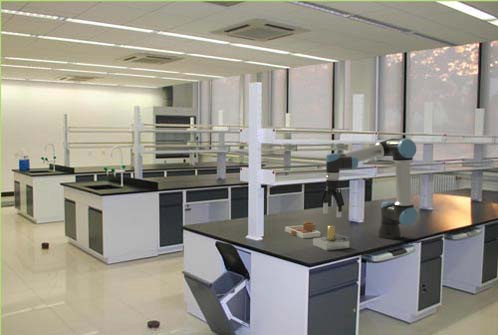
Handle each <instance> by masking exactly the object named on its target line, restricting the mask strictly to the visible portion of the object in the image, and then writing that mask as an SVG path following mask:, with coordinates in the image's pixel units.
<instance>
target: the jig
mask: <svg viewBox="0 0 498 335" xmlns="http://www.w3.org/2000/svg"><path fill="white" fill-rule="evenodd" d="M312 238H313V239H312V245H313V246H314V247H317V248H319V249H323V250H324V251H335V250H341V249H349V248H350V237H348V236H346V235H343V234H341V233H340V234H339V233H336V232H335V241H329V240H327V236H323V237H321V236H320V237H312Z"/></svg>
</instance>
